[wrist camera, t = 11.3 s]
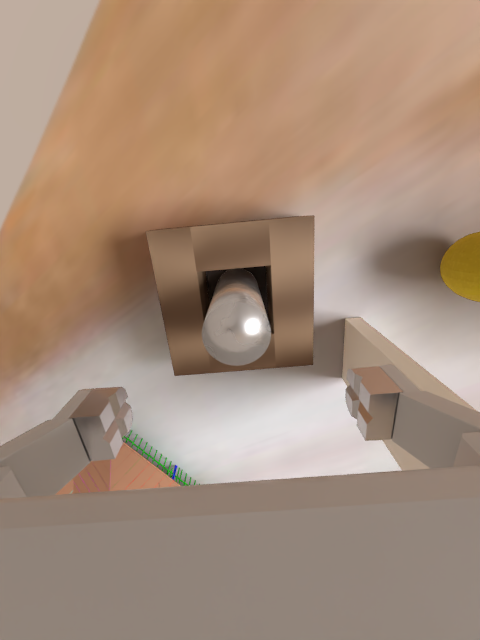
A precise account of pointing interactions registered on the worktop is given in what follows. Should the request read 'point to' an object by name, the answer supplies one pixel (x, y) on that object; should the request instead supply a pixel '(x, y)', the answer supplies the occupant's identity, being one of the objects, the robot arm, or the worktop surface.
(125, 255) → the worktop surface
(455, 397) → the cream panel with ledge
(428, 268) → the worktop surface
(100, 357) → the worktop surface
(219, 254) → the socket block
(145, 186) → the worktop surface
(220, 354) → the peg
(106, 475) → the house
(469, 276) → the lemon
